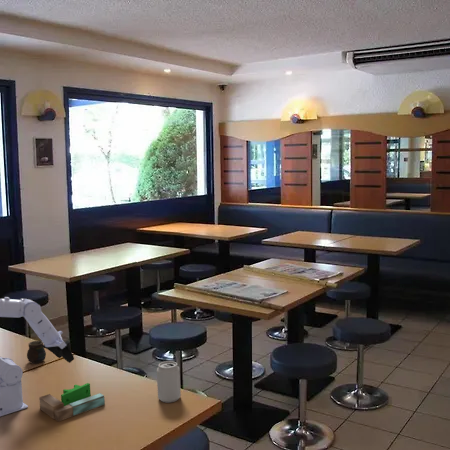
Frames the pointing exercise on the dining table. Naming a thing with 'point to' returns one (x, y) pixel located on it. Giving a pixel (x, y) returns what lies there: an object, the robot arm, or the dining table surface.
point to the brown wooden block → (50, 404)
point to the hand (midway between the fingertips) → (66, 358)
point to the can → (168, 381)
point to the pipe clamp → (75, 394)
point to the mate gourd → (36, 352)
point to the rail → (79, 407)
